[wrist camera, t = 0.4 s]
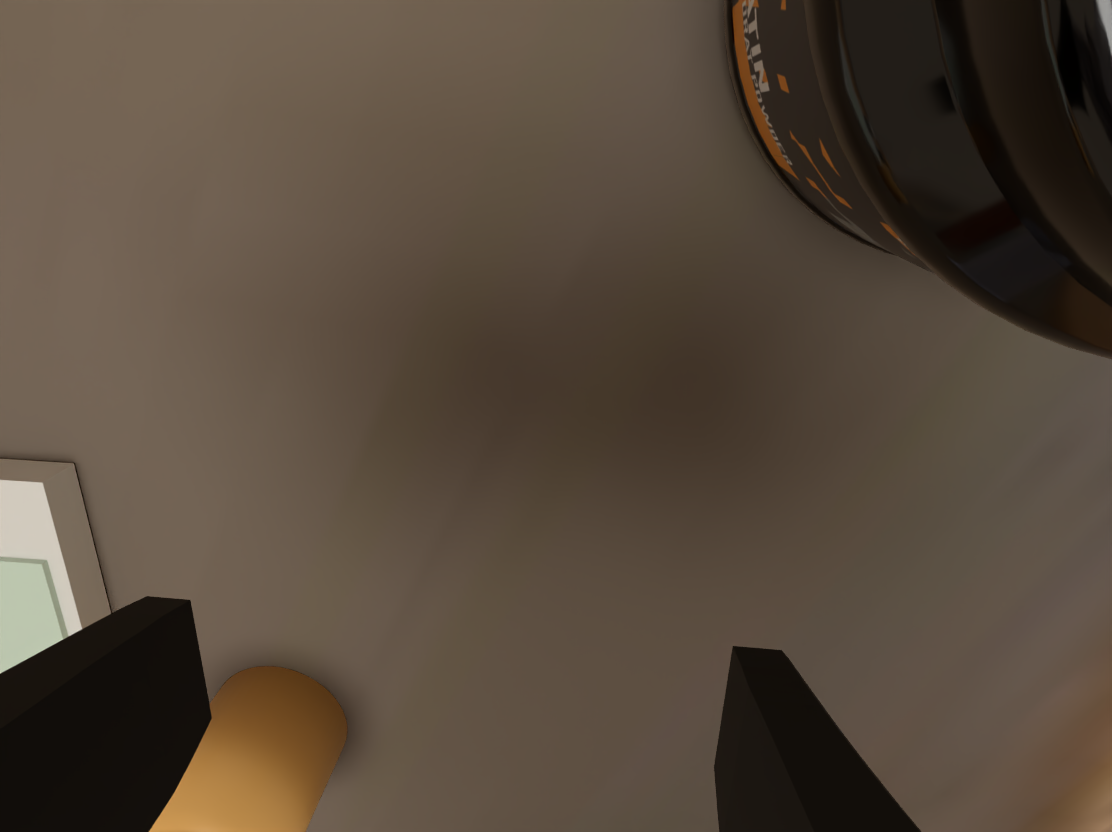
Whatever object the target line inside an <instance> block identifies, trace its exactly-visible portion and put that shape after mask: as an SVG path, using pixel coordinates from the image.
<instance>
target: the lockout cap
mask: <svg viewBox="0 0 1112 832" xmlns="http://www.w3.org/2000/svg"><path fill="white" fill-rule="evenodd" d="M209 705H210V710H211V716H212V719H211V721H210V723H209V725H208V728H207V730H206V732H205V734H204V736H203V738H202V740H201V742H200V744H199V746H198V748H197V750H196V752H195V754H194V756H193V758H192V760H191V762H190V764H189V766H188V768H187V770H186V772H185V773H184V775H183V777H182V779H181V781H180V783H179V785H178V787H177V789H176V790H175V792H174V794H173V796H172V797H171V799H170V800H169V802H168V803H167V805H166V806H165V808H164V810H163V811H162V813H161V814H160V816H159V817H158V819H157V820H156V822H155V823H154V825H153V826H152V828H151V829H150V831H149V832H306V829H307V827H308V825H309V823H310V820H311V818H312V816H313V814H314V811H315V809H316V807H317V805H318V803H319V800H320V798H321V796H322V794H323V791H324V789H325V787H326V785H327V783H328V780H329V778H330V776H331V774H332V771H333V769H334V767H335V765H336V762H337V760H338V758H339V756H340V754H341V751H342V749H343V747H344V745H345V742H346V738H347V722H346V718H345V715H344V712H343V710H342V708H341V706H340V705H339V703H338V702H337V700H336V699H335V698H334V697H333V695H332V694H331V693H330V692H329V691H328V690H327V689H325V688H324V687H323V686H322V685H321V684H319V683H318V682H316V681H315V680H313V679H311V678H310V677H308V676H306V675H304V674H301V673H299V672H296V671H293V670H290V669H286V668H281V667H274V666H262V667H254V668H249V669H246V670H243V671H240V672H238V673H236V674H235V675H233V676H232V677H230V678H229V679H228V680H227V681H226V682H225V683H224V684H223V686H222V687H221V689H220V690H219V691H218V693H217V694H216V696H215V697H214V698H213V700H212V701H211V703H210V704H209Z"/></svg>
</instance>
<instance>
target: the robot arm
mask: <svg viewBox="0 0 1112 832" xmlns="http://www.w3.org/2000/svg"><path fill="white" fill-rule="evenodd" d="M211 719H212V716H211V710H210V705H209V699H208V694H207V689H206V683H205V678H204V672H203V667H202V661H201V656H200V650H199V645H198V639H197V634H196V629H195V623H194V618H193V612H192V607H191V601H190V600H184V599H172V598H161V597H149V596H147V597H145V598H142V599H140V600H138V601H136V602H134V603H132V604H130V605H127V606H125V607H123V608H121V609H119V610H117V611H115V612H114V613H112V614H110V615H108V616H106V617H104V618H102V619H100V620H98V621H96V622H94V623H93V624H91V625H89V626H87V627H85V628H83V629H81V630H79V631H78V632H76V633H74V634H72V635H70V636H68V637H67V638H65V639H63V640H61V641H59V642H57V643H56V644H54V645H52V646H50V647H48V648H46V649H45V650H43V651H41V652H39V653H37V654H35V655H34V656H32V657H30V658H28V659H26V660H24V661H22V662H21V663H19V664H17V665H15V666H13V667H11V668H9V669H8V670H6V671H4V672H2V673H0V832H149V831H150V829H151V828H152V826H153V825H154V823H155V822H156V820H157V819H158V817H159V816H160V814H161V813H162V811H163V810H164V808H165V806H166V805H167V803H168V802H169V800H170V799H171V797H172V796H173V794H174V792H175V790H176V789H177V787H178V785H179V783H180V781H181V779H182V777H183V775H184V773H185V772H186V770H187V768H188V766H189V764H190V762H191V760H192V758H193V756H194V754H195V752H196V750H197V748H198V746H199V744H200V742H201V740H202V738H203V736H204V734H205V732H206V730H207V728H208V725H209V723H210V721H211ZM714 771H715V784H716V797H717V810H718V822H719V832H921V831H920V830H919V828H918V827H917V826H916V825H915V824H914V822H913V821H912V820H911V819H910V818H909V816H908V815H907V814H906V813H905V812H904V810H903V809H902V808H901V807H900V806H899V804H898V803H897V802H896V801H895V799H894V798H893V797H892V796H891V794H890V793H889V792H888V791H887V789H886V788H885V787H884V786H883V784H882V783H881V782H880V780H879V779H878V778H877V777H876V775H875V774H874V773H873V772H872V770H871V769H870V768H869V767H868V765H867V764H866V763H865V762H864V760H863V759H862V758H861V757H860V755H859V754H858V753H857V751H856V750H855V749H854V747H853V746H852V745H851V744H850V742H849V741H848V740H847V738H846V737H845V736H844V734H843V733H842V732H841V730H840V729H839V728H838V726H837V725H836V723H835V722H834V721H833V719H832V718H831V717H830V715H829V714H828V713H827V711H826V710H825V709H824V707H823V706H822V704H821V703H820V702H819V700H818V699H817V698H816V696H815V695H814V693H813V692H812V691H811V689H810V688H809V686H808V685H807V684H806V682H805V681H804V679H803V678H802V677H801V675H800V674H799V672H798V671H797V670H796V668H795V667H794V665H793V664H792V662H791V661H790V660H789V658H788V657H787V656H786V655H785V654H784V653H783V651H782V650H772V649H761V648H749V647H737V646H733V649H732V655H731V662H730V668H729V674H728V681H727V687H726V694H725V700H724V707H723V713H722V720H721V726H720V732H719V739H718V745H717V752H716V758H715V765H714Z"/></svg>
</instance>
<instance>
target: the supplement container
mask: <svg viewBox="0 0 1112 832" xmlns="http://www.w3.org/2000/svg"><path fill="white" fill-rule="evenodd" d="M724 28H725V41H726V52H727V58H728V63H729V69H730V75H731V80H732V83H733V87H734V90H735V94H736V97H737V101H738V104H739V107H740V110H741V112H742V115H743V117H744V120H745V122H746V125H747V127H748V130H749V132H750V134H751V136H752V138H753V140H754V142H755V143H756V145H757V147H758V149H759V151H760V153H761V155H762V156H763V158H764V159H765V161H766V162H767V163H768V165H769V166H770V168H771V169H772V171H773V172H774V174H775V175H776V176H777V178H778V179H779V180H780V181H781V182H782V183H783V184H784V186H785V187H786V188H787V189H788V190H789V191H790V192H791V194H792V195H793V196H794V197H795V198H796V199H798V200H799V201H800V202H801V203H802V204H803V205H804V206H805V207H806V208H808V209H809V210H810V211H811V212H812V213H813V214H815V215H816V216H817V217H819V218H820V219H822V220H823V221H824V222H826V223H827V224H829V225H830V226H832V227H833V228H834V229H836V230H838V231H840V232H842V233H844V234H845V235H847V236H849V237H851V238H853V239H855V240H856V241H858V242H860V243H863V244H865V245H868V246H870V247H873V248H875V249H878V250H880V251H883V252H886V253H889V254H893V255H896V256H899V257H901V258H903V259H905V260H907V261H910V262H912V263H914V264H916V265H918V266H920V267H922V268H924V269H926V270H928V271H930V272H932V273H934V274H936V275H937V276H938V277H939V278H941V279H942V280H943V281H944V282H946V283H947V284H949V285H950V286H951V287H953V288H954V289H956V290H957V291H958V292H960V293H961V294H963V295H964V296H965V297H967V298H968V299H970V300H971V301H973V302H974V303H975V304H977V305H979V306H980V307H982V308H984V309H986V310H988V311H990V312H991V313H993V314H995V315H997V316H999V317H1001V318H1003V319H1004V320H1006V321H1008V322H1010V323H1012V324H1014V325H1016V326H1017V327H1019V328H1021V329H1023V330H1025V331H1028V332H1030V333H1033V334H1035V335H1038V336H1040V337H1043V338H1045V339H1048V340H1050V341H1053V342H1055V343H1058V344H1060V345H1063V346H1066V347H1068V348H1072V349H1076V350H1079V351H1083V352H1087V353H1090V354H1094V355H1098V356H1101V357H1105V358H1109V359H1112V0H724Z"/></svg>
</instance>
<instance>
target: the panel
mask: <svg viewBox="0 0 1112 832" xmlns="http://www.w3.org/2000/svg"><path fill="white" fill-rule="evenodd" d="M110 614H111V611H110V607H109V603H108V599H107V595H106V591H105V587H104V583H103V579H102V575H101V571H100V567H99V562H98V558H97V554H96V550H95V546H94V542H93V538H92V534H91V530H90V526H89V522H88V518H87V514H86V510H85V506H84V502H83V498H82V494H81V490H80V486H79V482H78V478H77V474H76V470H75V466H74V463H61V462H45V461H30V460H15V459H0V673H2V672H4V671H6V670H8V669H9V668H11V667H13V666H15V665H17V664H19V663H21V662H22V661H24V660H26V659H28V658H30V657H32V656H34V655H35V654H37V653H39V652H41V651H43V650H45V649H46V648H48V647H50V646H52V645H54V644H56V643H57V642H59V641H61V640H63V639H65V638H67V637H68V636H70V635H72V634H74V633H76V632H78V631H79V630H81V629H83V628H85V627H87V626H89V625H91V624H93V623H94V622H96V621H98V620H100V619H102V618H104V617H106V616H108V615H110Z"/></svg>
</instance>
